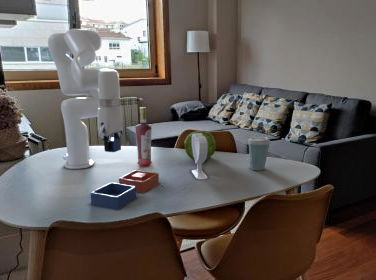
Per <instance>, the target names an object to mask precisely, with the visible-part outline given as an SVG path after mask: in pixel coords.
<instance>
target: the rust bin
mask: <svg viewBox="0 0 376 280" xmlns="http://www.w3.org/2000/svg"><path fill="white" fill-rule="evenodd" d="M136 173H144V174H147V180H145V181H136V180H132V175H134V174H136ZM159 178H160V177H159V173H158V172H151V171H145V170H138V169H134V170H132V171H130V172H128V173H126V174H124V175H122V176H121V177H119V178H118V184H124V185H130V186H136V193H141V194H145V193H146V192H148V191H150V190H151V189H152V188H155V187H156V186H157V185H159V184H160V179H159Z"/></svg>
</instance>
